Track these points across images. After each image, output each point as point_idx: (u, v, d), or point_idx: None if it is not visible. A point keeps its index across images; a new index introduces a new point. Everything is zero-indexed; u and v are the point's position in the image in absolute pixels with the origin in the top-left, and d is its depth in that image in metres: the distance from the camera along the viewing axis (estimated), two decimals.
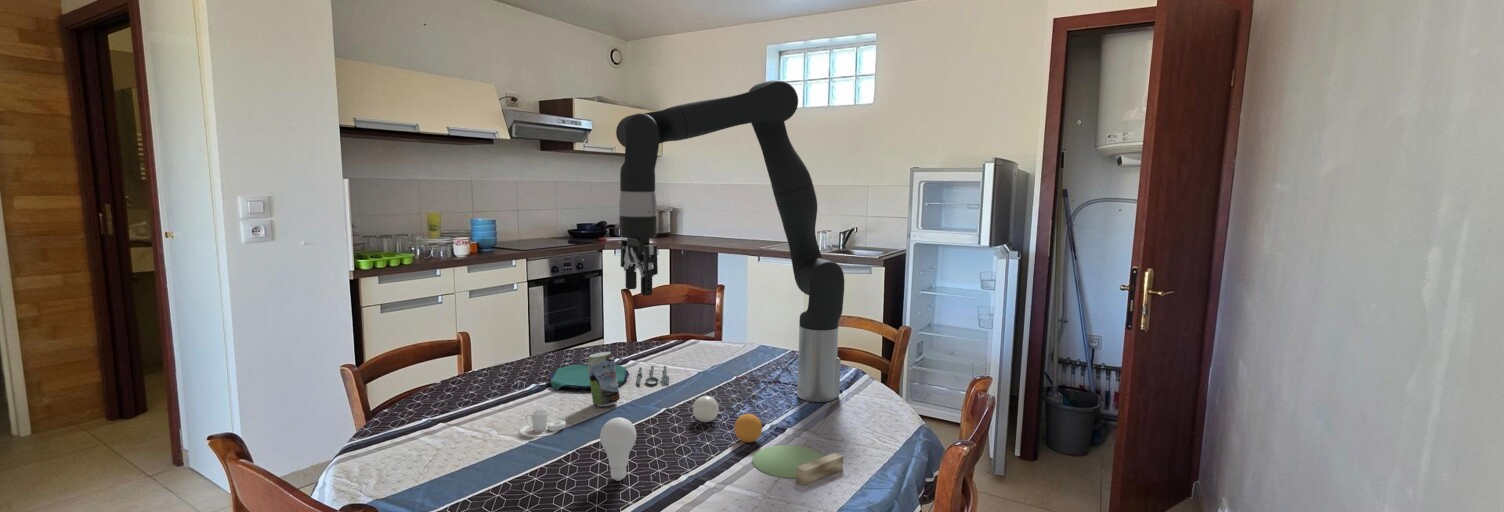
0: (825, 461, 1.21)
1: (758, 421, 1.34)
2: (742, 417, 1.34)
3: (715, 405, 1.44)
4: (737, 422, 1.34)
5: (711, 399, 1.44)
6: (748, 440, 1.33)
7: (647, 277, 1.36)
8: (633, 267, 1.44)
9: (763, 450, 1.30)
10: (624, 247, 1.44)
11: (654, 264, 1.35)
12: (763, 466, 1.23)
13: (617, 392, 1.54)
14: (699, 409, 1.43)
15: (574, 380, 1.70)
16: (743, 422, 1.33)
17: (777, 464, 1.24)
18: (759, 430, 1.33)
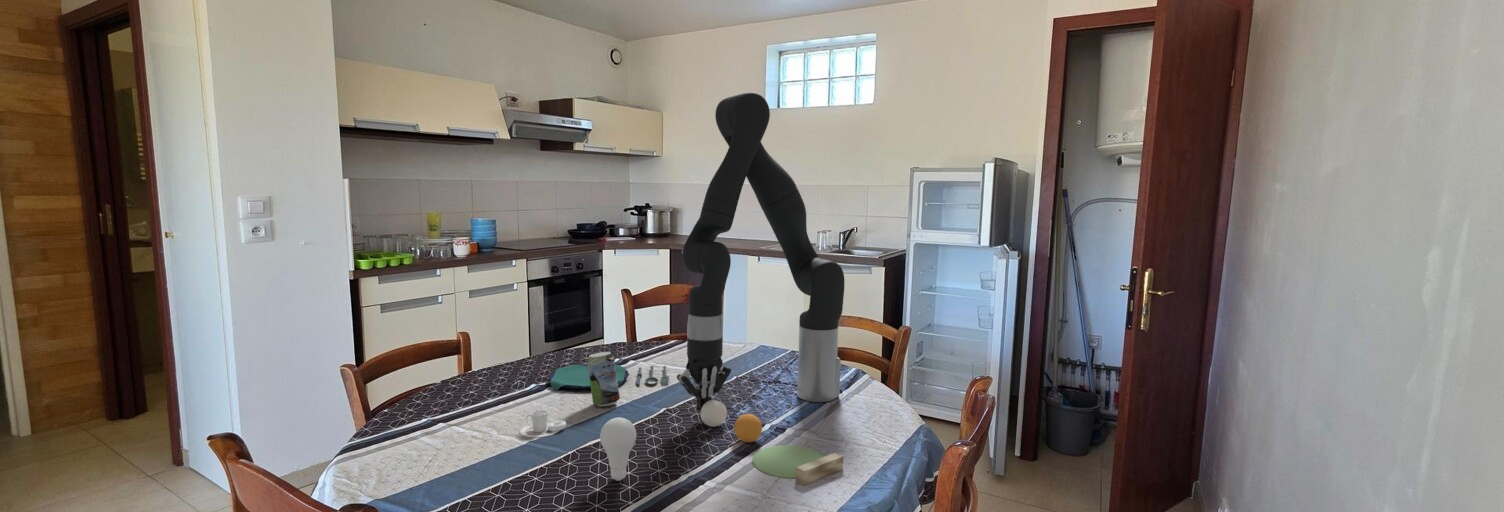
0: (825, 461, 1.21)
1: (758, 421, 1.34)
2: (742, 417, 1.34)
3: (724, 416, 1.42)
4: (737, 422, 1.34)
5: (722, 410, 1.41)
6: (748, 440, 1.33)
7: None
8: None
9: (763, 450, 1.30)
10: (690, 379, 1.42)
11: (716, 382, 1.48)
12: (763, 466, 1.23)
13: (617, 392, 1.54)
14: (708, 418, 1.40)
15: (574, 380, 1.70)
16: (743, 422, 1.33)
17: (777, 464, 1.24)
18: (759, 430, 1.33)
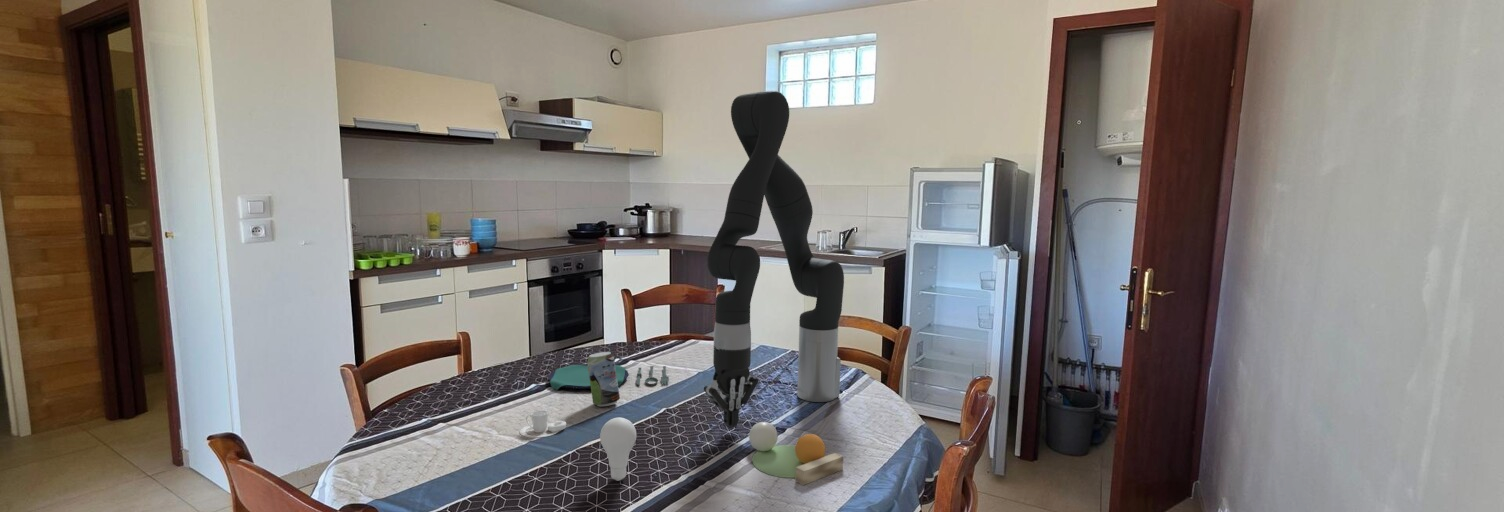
0: (825, 461, 1.21)
1: None
2: None
3: None
4: (796, 446, 1.25)
5: None
6: (814, 456, 1.22)
7: None
8: (727, 402, 1.39)
9: None
10: (718, 390, 1.35)
11: (742, 393, 1.41)
12: (763, 466, 1.23)
13: (617, 392, 1.54)
14: (752, 432, 1.29)
15: (573, 380, 1.70)
16: (801, 441, 1.24)
17: (777, 464, 1.24)
18: (820, 442, 1.24)
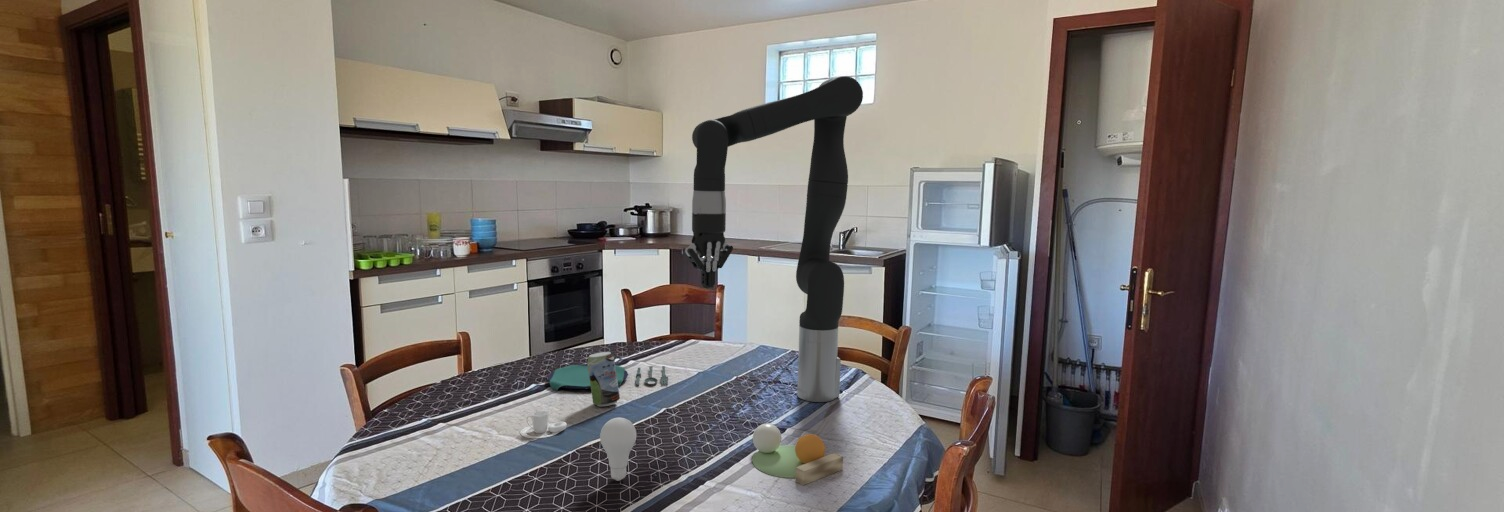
0: (825, 461, 1.21)
1: None
2: None
3: None
4: (796, 446, 1.25)
5: None
6: (814, 456, 1.22)
7: None
8: None
9: None
10: None
11: (719, 259, 1.56)
12: (763, 466, 1.23)
13: (617, 392, 1.54)
14: (758, 434, 1.28)
15: (573, 380, 1.70)
16: (801, 441, 1.24)
17: (777, 464, 1.24)
18: (820, 442, 1.24)
